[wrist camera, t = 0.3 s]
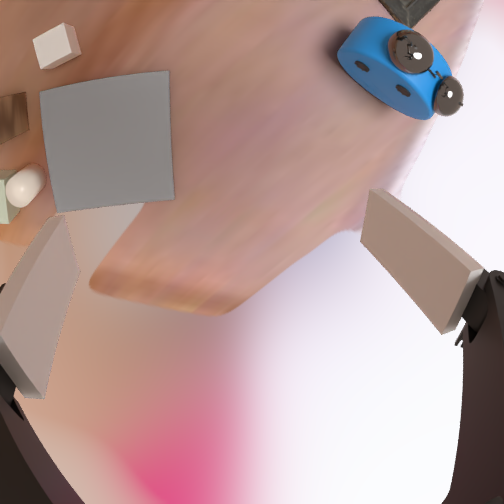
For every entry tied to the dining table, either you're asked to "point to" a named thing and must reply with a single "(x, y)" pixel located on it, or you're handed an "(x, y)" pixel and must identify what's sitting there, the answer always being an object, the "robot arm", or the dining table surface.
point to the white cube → (56, 46)
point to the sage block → (3, 209)
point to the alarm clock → (400, 69)
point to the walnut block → (13, 116)
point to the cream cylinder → (25, 185)
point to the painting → (408, 10)
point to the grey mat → (109, 141)
